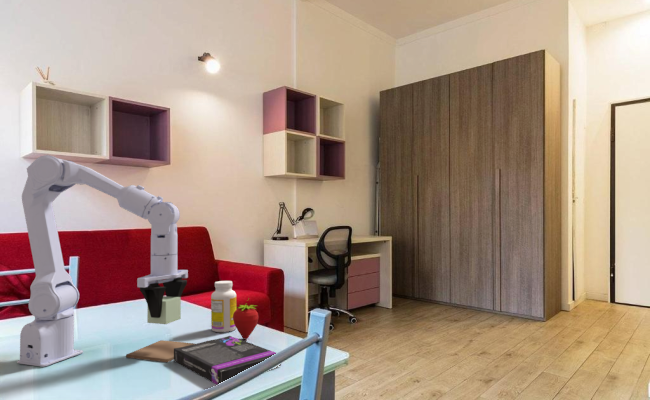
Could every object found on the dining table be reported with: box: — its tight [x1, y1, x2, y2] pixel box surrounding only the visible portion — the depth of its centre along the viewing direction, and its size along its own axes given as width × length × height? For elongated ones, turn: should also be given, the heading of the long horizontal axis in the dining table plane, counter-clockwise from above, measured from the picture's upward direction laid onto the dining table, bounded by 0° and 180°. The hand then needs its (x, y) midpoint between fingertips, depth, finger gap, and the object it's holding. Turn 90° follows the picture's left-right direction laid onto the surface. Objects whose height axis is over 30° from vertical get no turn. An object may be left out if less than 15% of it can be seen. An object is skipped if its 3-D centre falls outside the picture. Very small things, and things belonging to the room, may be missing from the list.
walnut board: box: [126, 339, 195, 363], centre depth 95 cm, size 11×11×1 cm
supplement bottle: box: [210, 280, 237, 333], centre depth 113 cm, size 7×7×13 cm
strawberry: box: [233, 297, 259, 340], centre depth 104 cm, size 6×8×10 cm
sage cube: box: [147, 295, 182, 325], centre depth 95 cm, size 5×5×5 cm
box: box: [173, 335, 282, 385], centre depth 86 cm, size 14×4×20 cm
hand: (164, 314), depth 95 cm, fingers closed on sage cube, 5 cm apart
